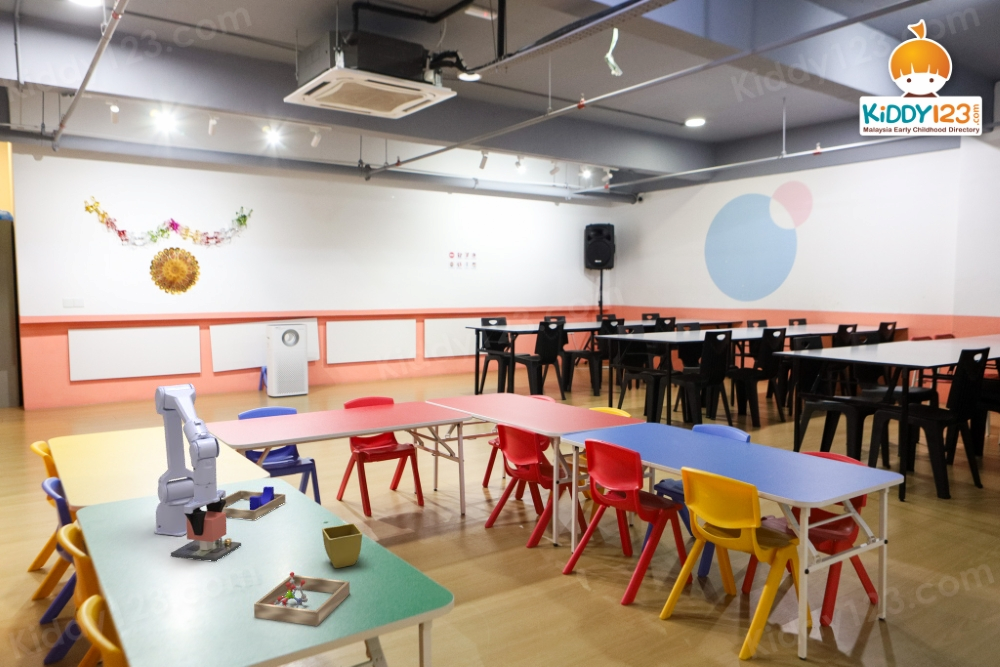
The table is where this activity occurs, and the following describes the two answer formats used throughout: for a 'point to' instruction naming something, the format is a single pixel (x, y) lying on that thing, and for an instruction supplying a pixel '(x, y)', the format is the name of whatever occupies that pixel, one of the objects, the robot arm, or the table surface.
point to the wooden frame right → (296, 614)
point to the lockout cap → (209, 527)
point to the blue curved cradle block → (262, 498)
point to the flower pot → (342, 544)
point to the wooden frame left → (250, 514)
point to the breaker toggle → (206, 545)
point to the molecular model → (292, 595)
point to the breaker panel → (212, 554)
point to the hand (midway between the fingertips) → (206, 530)
